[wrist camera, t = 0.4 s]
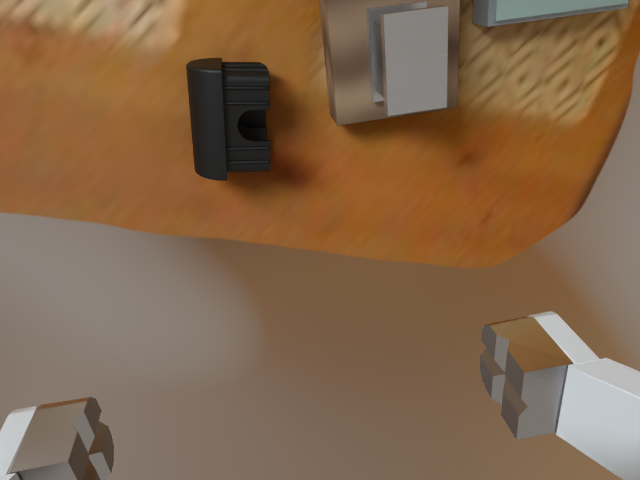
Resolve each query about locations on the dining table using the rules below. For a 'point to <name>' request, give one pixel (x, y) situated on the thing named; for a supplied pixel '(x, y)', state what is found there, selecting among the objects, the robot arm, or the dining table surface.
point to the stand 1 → (353, 64)
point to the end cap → (228, 116)
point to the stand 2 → (536, 9)
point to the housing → (408, 56)
